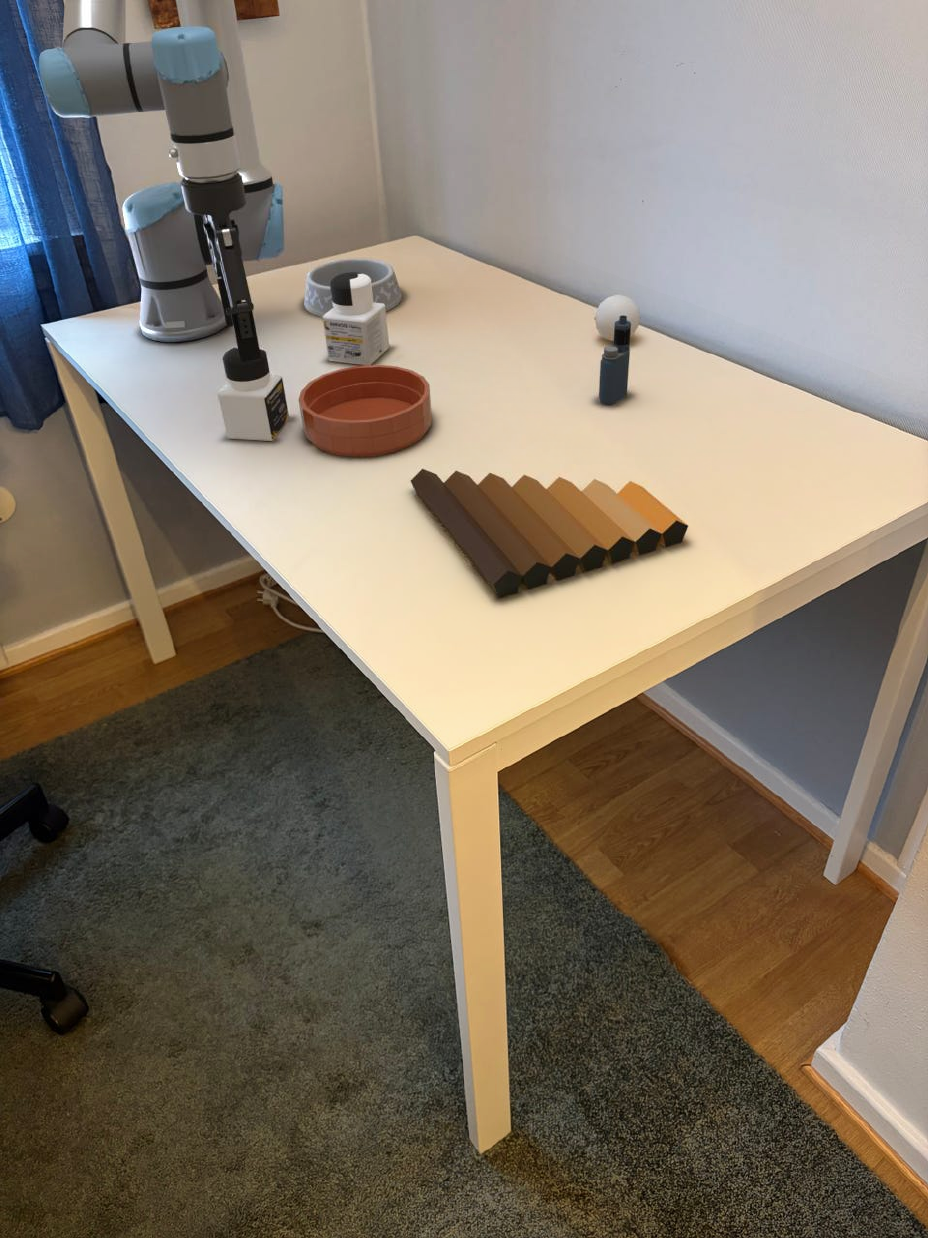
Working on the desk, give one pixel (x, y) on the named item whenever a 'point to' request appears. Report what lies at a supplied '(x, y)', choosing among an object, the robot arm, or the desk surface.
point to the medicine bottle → (252, 399)
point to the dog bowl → (321, 276)
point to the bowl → (366, 410)
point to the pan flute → (545, 525)
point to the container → (355, 321)
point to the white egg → (616, 315)
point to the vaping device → (615, 364)
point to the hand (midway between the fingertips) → (243, 341)
